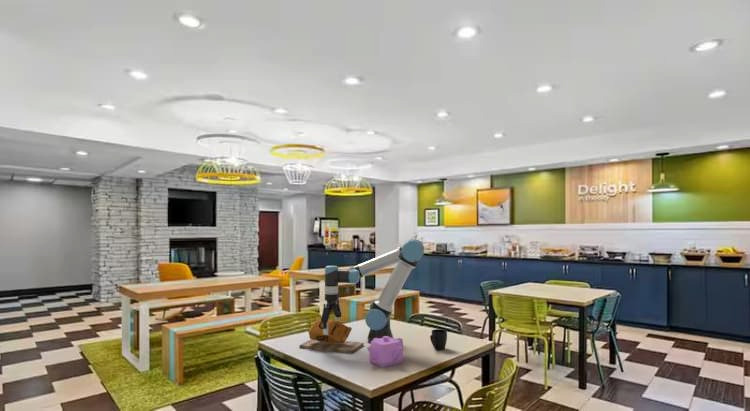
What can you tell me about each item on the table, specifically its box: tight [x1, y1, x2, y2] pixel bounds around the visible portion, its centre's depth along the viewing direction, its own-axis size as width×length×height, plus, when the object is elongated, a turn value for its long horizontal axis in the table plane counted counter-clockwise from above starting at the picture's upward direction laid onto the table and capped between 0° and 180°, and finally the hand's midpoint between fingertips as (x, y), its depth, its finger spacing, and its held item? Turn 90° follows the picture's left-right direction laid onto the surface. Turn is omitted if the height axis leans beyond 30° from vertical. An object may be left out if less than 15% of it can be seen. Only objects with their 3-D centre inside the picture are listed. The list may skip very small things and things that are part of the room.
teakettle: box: [366, 336, 404, 368], centre depth 200 cm, size 17×17×12 cm
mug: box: [429, 328, 448, 351], centre depth 219 cm, size 8×12×10 cm
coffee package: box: [308, 316, 352, 344], centre depth 228 cm, size 10×12×22 cm
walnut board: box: [299, 339, 365, 355], centre depth 227 cm, size 32×16×2 cm, turn 68°
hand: (331, 331), depth 228 cm, fingers closed on coffee package, 13 cm apart
